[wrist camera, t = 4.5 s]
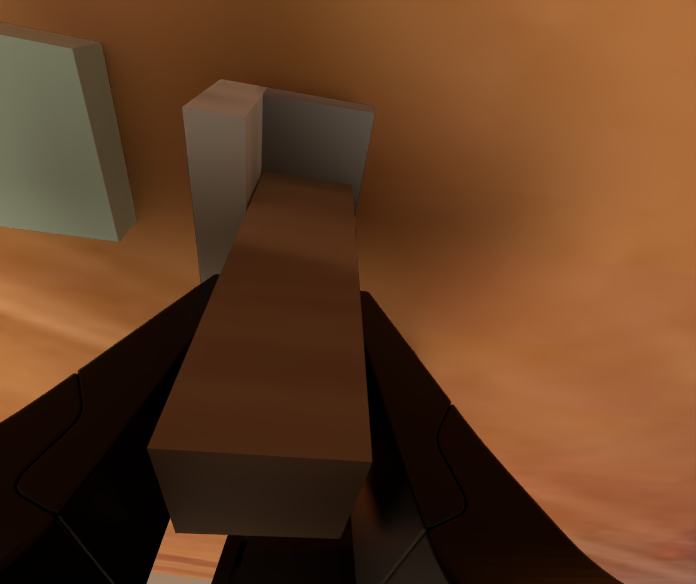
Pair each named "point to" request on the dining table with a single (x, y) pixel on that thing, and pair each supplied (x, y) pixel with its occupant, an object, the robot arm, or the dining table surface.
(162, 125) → the dining table surface
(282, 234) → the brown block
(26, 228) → the tile
